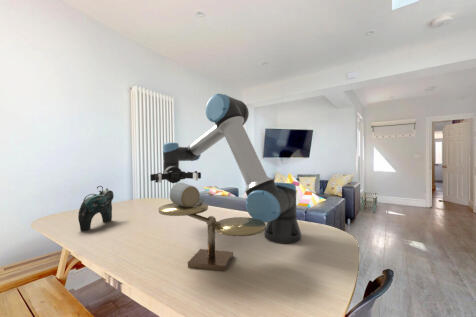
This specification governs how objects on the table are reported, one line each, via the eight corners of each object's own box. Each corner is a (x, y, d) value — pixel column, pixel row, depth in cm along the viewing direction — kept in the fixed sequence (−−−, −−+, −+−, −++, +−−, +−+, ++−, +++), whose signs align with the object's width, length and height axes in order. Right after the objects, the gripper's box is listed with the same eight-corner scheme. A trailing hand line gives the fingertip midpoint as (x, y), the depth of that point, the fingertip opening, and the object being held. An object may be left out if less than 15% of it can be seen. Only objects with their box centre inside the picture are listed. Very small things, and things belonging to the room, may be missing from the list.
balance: (268, 255, 75) (267, 204, 75) (262, 281, 59) (262, 216, 59) (174, 247, 83) (174, 201, 83) (148, 268, 67) (147, 211, 67)
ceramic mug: (182, 209, 68) (182, 185, 68) (169, 206, 74) (169, 183, 74) (209, 205, 75) (209, 182, 76) (195, 201, 81) (195, 181, 81)
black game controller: (106, 219, 122) (106, 183, 122) (117, 219, 121) (116, 183, 121) (75, 231, 103) (75, 188, 103) (88, 231, 102) (87, 189, 102)
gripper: (199, 181, 107) (211, 185, 88) (144, 184, 98) (143, 190, 78) (199, 165, 107) (210, 167, 88) (144, 167, 98) (143, 169, 78)
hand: (179, 177), depth 83 cm, fingers open, 13 cm apart
